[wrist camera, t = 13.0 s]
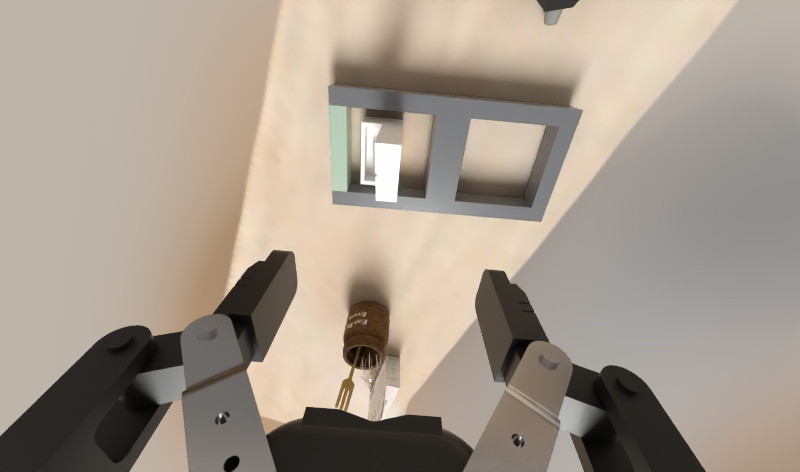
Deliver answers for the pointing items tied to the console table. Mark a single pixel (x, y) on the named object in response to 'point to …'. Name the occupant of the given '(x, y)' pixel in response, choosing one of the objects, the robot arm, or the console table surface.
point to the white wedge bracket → (381, 155)
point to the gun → (554, 9)
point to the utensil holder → (364, 342)
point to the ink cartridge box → (384, 389)
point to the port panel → (450, 151)
